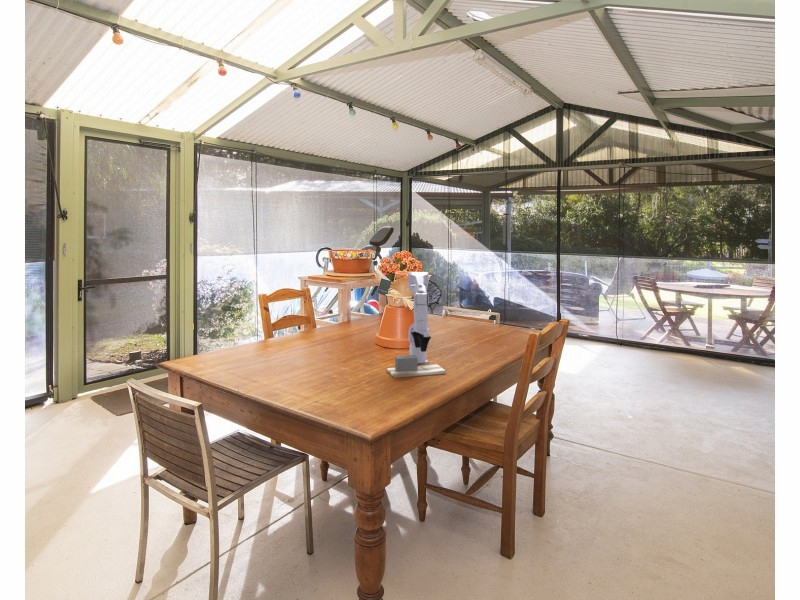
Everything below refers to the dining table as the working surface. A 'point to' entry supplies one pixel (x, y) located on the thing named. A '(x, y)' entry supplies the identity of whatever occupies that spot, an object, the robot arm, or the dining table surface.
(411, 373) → the cream flat panel
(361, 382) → the dining table surface
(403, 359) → the block
